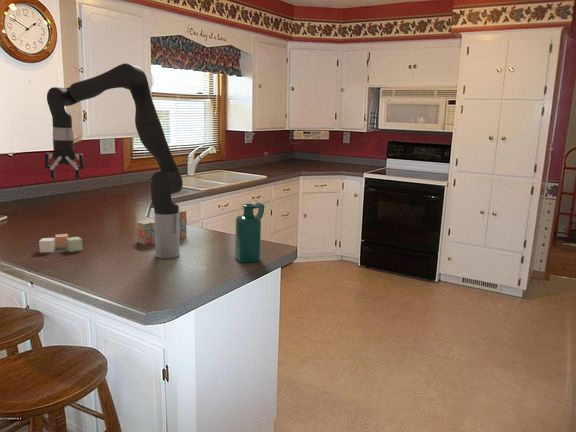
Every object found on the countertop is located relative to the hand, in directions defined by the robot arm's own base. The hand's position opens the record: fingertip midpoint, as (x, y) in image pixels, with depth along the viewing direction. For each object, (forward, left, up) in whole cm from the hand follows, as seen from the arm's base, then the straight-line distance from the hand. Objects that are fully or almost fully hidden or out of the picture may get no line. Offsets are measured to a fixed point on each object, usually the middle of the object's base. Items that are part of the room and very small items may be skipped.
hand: (65, 179), depth 194 cm
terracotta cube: (-9, +2, -26) cm, 28 cm away
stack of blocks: (-3, -38, -27) cm, 47 cm away
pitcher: (-40, -68, -27) cm, 83 cm away
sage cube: (-15, -3, -26) cm, 30 cm away
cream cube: (-15, +6, -26) cm, 30 cm away
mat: (-12, +2, -27) cm, 29 cm away
